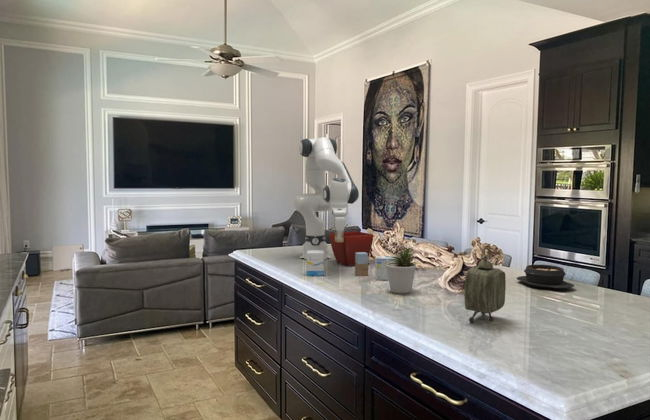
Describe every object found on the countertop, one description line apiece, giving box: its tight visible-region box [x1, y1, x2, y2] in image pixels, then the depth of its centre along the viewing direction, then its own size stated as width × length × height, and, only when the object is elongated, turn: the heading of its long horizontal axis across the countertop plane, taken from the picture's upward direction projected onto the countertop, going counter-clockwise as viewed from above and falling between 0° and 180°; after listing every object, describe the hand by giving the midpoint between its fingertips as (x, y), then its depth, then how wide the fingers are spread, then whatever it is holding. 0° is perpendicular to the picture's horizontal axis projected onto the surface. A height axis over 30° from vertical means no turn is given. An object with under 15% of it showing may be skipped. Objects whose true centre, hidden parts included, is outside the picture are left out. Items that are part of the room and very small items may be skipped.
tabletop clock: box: [463, 247, 507, 323], centre depth 162 cm, size 14×9×25 cm, turn 141°
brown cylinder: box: [334, 230, 344, 242], centre depth 240 cm, size 4×4×5 cm
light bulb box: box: [374, 255, 398, 281], centre depth 228 cm, size 11×7×11 cm, turn 84°
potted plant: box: [386, 244, 419, 295], centre depth 203 cm, size 13×14×20 cm
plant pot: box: [328, 231, 374, 267], centre depth 268 cm, size 19×19×17 cm
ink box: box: [306, 250, 325, 277], centre depth 239 cm, size 8×8×12 cm
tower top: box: [355, 252, 369, 265], centre depth 238 cm, size 5×5×5 cm
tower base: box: [354, 262, 369, 277], centre depth 238 cm, size 6×6×6 cm
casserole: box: [516, 264, 575, 290], centre depth 212 cm, size 25×19×8 cm
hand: (339, 238), depth 240 cm, fingers closed on brown cylinder, 4 cm apart
